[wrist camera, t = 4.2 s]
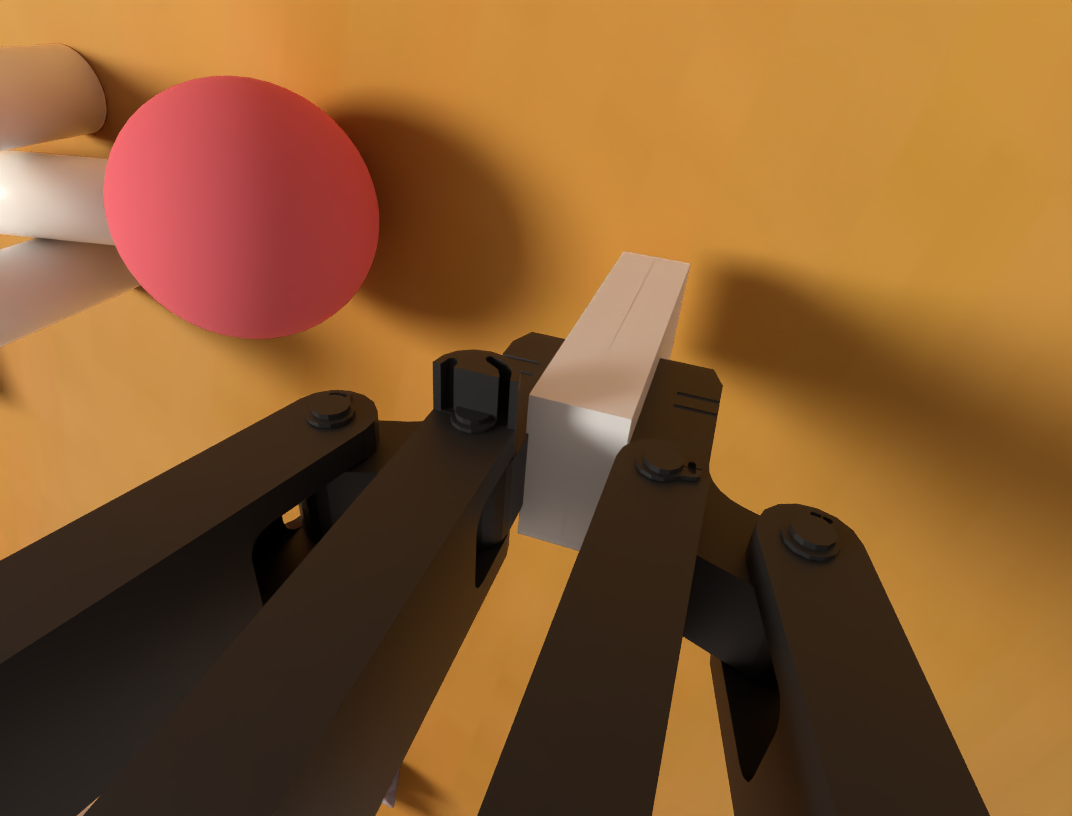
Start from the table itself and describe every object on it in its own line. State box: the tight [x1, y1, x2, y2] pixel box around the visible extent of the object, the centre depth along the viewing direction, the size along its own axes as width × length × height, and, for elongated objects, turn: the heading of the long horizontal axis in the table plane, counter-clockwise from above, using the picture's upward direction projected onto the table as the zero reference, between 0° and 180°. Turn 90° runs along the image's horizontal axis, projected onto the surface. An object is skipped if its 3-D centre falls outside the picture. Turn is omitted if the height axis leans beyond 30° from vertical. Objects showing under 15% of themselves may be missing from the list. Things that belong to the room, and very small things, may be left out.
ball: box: [103, 76, 379, 339], centre depth 16 cm, size 6×6×6 cm
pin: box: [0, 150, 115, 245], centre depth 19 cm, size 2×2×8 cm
